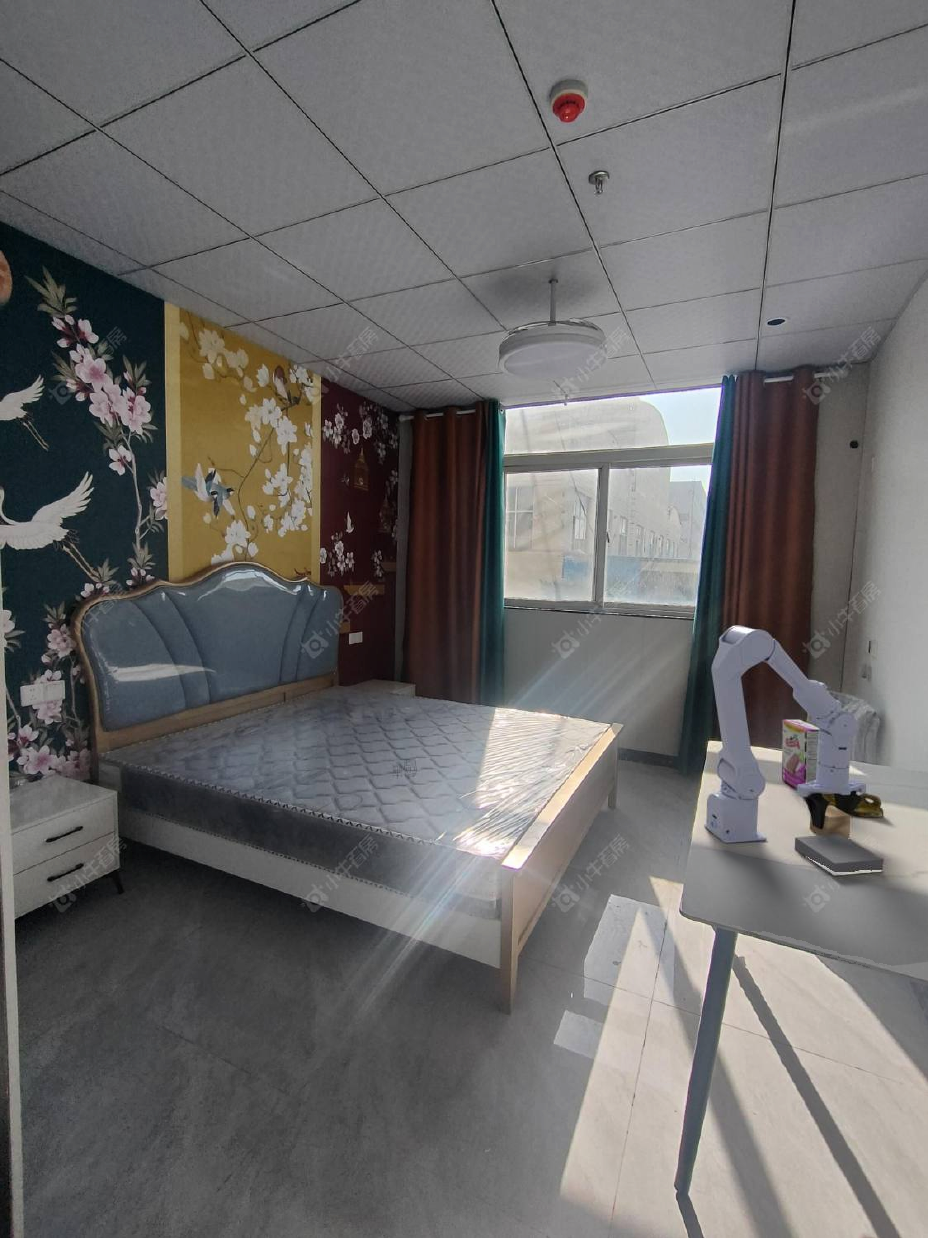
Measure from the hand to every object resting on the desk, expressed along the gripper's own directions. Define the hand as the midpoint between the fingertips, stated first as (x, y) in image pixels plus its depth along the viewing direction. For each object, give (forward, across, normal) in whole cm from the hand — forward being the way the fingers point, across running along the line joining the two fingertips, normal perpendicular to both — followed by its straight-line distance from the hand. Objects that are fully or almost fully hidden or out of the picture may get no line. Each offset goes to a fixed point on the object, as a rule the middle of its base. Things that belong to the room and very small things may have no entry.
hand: (829, 826), depth 118 cm
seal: (+2, +14, +12) cm, 18 cm away
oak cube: (+2, 0, 0) cm, 2 cm away
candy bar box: (+2, +12, +23) cm, 26 cm away
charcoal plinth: (+2, -7, -10) cm, 12 cm away
